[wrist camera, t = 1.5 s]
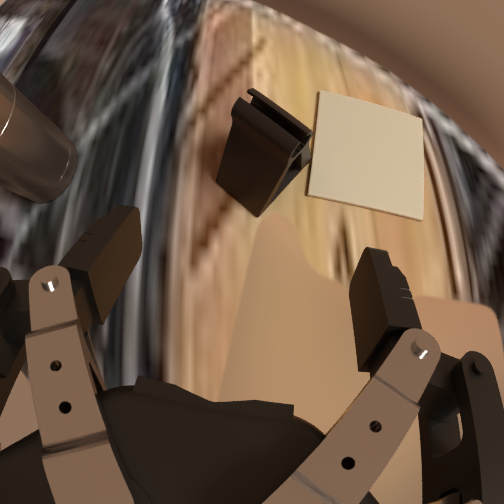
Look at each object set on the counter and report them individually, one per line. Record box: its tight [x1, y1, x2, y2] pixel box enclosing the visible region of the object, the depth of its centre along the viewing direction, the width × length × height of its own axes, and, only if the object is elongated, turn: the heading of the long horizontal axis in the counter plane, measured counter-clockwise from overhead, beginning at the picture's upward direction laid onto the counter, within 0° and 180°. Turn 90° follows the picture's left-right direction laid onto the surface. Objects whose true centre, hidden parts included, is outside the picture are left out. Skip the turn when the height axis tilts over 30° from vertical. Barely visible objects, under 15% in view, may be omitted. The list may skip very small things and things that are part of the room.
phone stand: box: [216, 88, 313, 217], centre depth 29 cm, size 9×6×12 cm, turn 138°
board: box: [307, 90, 424, 221], centre depth 35 cm, size 14×14×1 cm
